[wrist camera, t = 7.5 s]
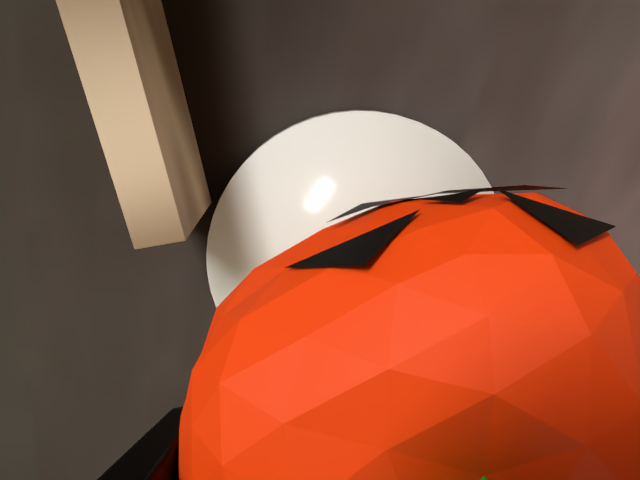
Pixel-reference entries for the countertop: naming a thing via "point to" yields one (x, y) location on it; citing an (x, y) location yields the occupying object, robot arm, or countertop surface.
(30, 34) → the countertop surface
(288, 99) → the countertop surface
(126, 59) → the wooden frame
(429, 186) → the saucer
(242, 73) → the countertop surface
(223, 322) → the pumpkin
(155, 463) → the robot arm
